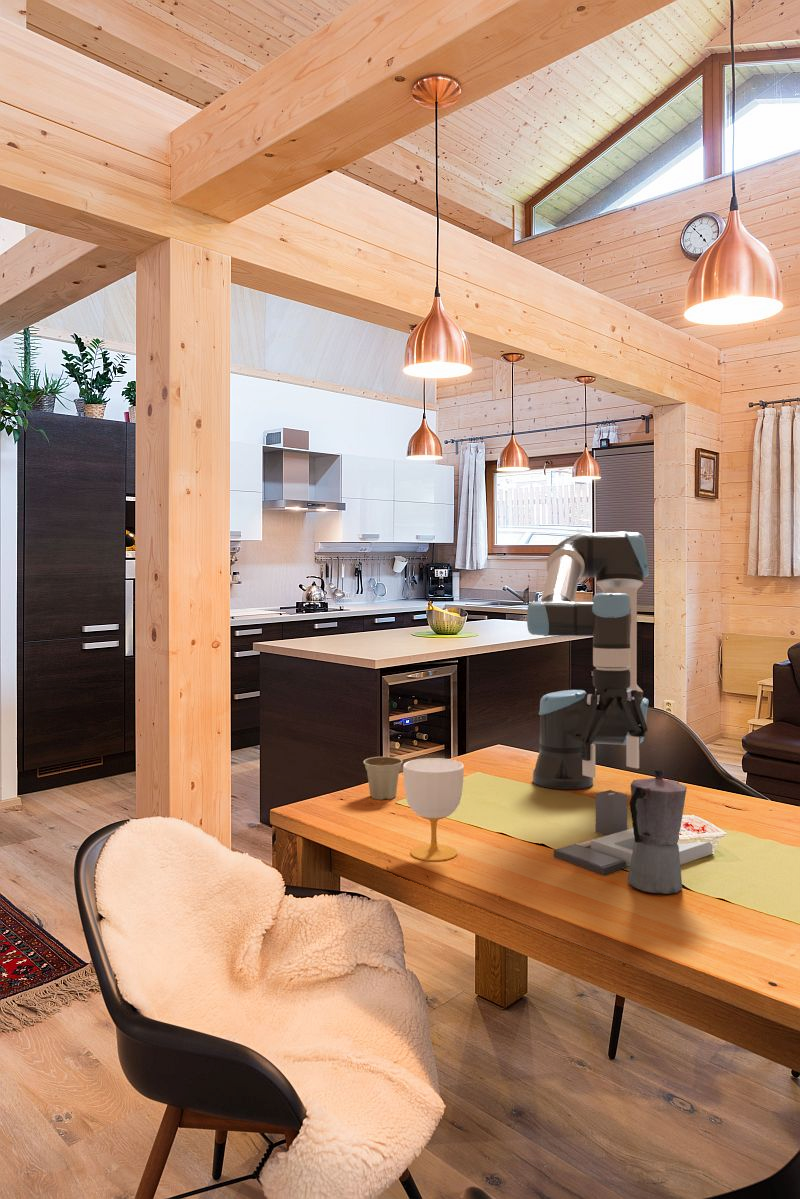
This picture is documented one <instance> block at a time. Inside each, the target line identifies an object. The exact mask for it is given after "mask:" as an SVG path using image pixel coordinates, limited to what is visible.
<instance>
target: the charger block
mask: <svg viewBox="0 0 800 1199" xmlns="http://www.w3.org/2000/svg"><path fill="white" fill-rule="evenodd" d="M625 830H628V794H626V793H623V792H619V791H615V790H611V789H609V790H605V791H600V792H597V793H596V792H595V833H598V834H601V835H603V836H607V835H611V834H614V833H618V832H621V831H625Z"/></svg>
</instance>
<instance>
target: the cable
mask: <svg viewBox="0 0 800 1199" xmlns="http://www.w3.org/2000/svg"><path fill="white" fill-rule="evenodd" d="M606 836H608V835H606ZM601 837H602V836H601ZM601 837H599V838H601ZM594 839H595V838H593V839H590V840H586V841H584V842H580V843H577V844H578V845H580V846H583V847H586V848H589V847H591V840H594Z"/></svg>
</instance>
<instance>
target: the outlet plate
mask: <svg viewBox="0 0 800 1199" xmlns="http://www.w3.org/2000/svg"><path fill="white" fill-rule="evenodd" d="M593 839H594V840H593ZM593 839H590V840H591V846H590V849H592V850H595V851H598V852H601V853H603V854H606V855H609V856H612V857H615V858H618V859H621V860H624V861H626V867H629V868H630V863H631V857H632V852H633V846H634V841H635V837H634V830H633V827H631V828H629V829H628V828H627V830H625V831H621V832H618V833H614V834H611V835H608V836H607V835H603V836H601V838H600V837H598V838H593ZM678 846H679V856H680V866H682V865H685V864H687V863H690V862H692V861H693V862H694V861H697V860H699V859H701V858H704V857H707V856H710V855H713V843H712V844H711V843H710V842H698V843H688V844H678Z"/></svg>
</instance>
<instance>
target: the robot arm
mask: <svg viewBox="0 0 800 1199" xmlns="http://www.w3.org/2000/svg"><path fill="white" fill-rule="evenodd" d="M546 571H547V576H546V580H545V584H544V587H543V591H542V594H541V600H537V601H531V602H529V604H528V606H527V611H526V612H527V613H526V625H527V630H528V633H529V634H530V635H533V636H544V637H548V636H549V637H550V636H551V637H552V636H555V637H557V636H561V637H567V636H568V637H571V636H573V637H592V666H593V667H595V668H594V669H593V670H592V685H593V688H595V689H594V690H595V691H594V693H593V694H592V693H587V692H586V691H585V690H583V689H568V690H566V689H565V690H560V691H554V692H553V691H552V692H549V693H546V694H544V695H543V696H542V697H541V698H540V700H539V711H538V715H539V751H538V752H539V753H538V755H537V759H536V763H535V768H534V769H533V771H532V782H533V783H534V784H536V785H537V786H540V787H543V788H548V789H554V790H580V789H582V790H583V789H586V788H589V787H592V786H593V784H594V778H596V744H600V745H601V744H602V745H604V744H605V745H620V746H626V747H625V748H626V749H625V752H626V756H625V757H626V760H625V761H626V765H625V766H626V767H629V768H633V769H640V750H641V744H642V742H644V738H645V736H646V733H647V732H648V725H647V718H648V717H647V715H648V710H649V709H648V708H649V699H648V698H646V697H644V696H643V695H644V691H643V690H642V688H641V687H640V686H639V685H638V684H637V683H638V681H637V677H638V676H637V672H638V671H637V668H638V667H637V664H638V663H637V661H638V660H637V659H638V658H637V656H638V654H637V653H638V652H637V651H638V650H637V646H638V645H637V640H638V638H637V636H638V634H637V632H638V627H637V626H638V625H637V624H638V623H637V622H638V619H637V617H638V611H637V610H638V608H637V607H638V605H637V604H638V600H637V599H638V597H637V596H638V589H640V588H641V587H642V586H643V585H644V579H646V578H648V577H649V575H650V571H649V564H648V554H647V547H646V541H645V538H644V536H643V534H642V533H640V532H635V531H634V532H633V531H632V532H631V531H613V532H611V531H609V532H608V531H607V532H582V533H577V534H574V535H572V536H569V537H567V538H566V539H564V540H562V541H560V542H559V543H558V544H557V545H556V546H555V547H554V548H553V549H552V550H551V552H550V553H549V555H548V558H547V561H546ZM581 578H596V583H595V584H596V585H597V587H599V589H601V591H602V592H598V593H595V594H594V595H593V597H592V601H575V600H576V596H577V590H578V585H579V580H580V579H581Z"/></svg>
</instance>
